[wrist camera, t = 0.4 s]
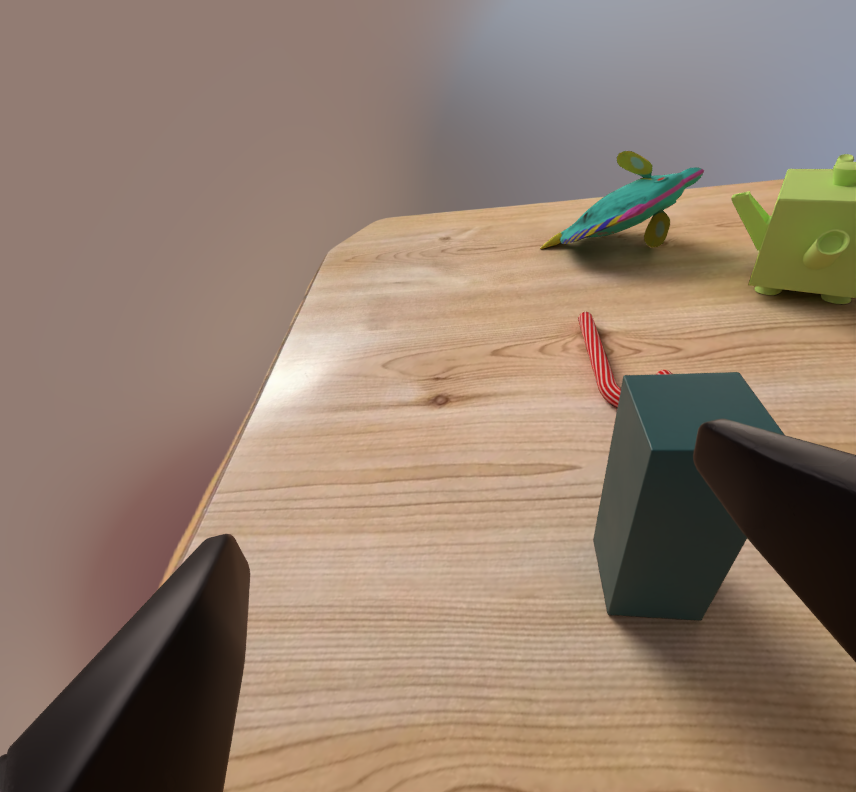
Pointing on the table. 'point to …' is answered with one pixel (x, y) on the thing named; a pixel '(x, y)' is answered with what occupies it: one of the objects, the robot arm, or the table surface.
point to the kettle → (806, 233)
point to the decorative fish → (632, 204)
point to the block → (668, 496)
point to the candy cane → (601, 360)
